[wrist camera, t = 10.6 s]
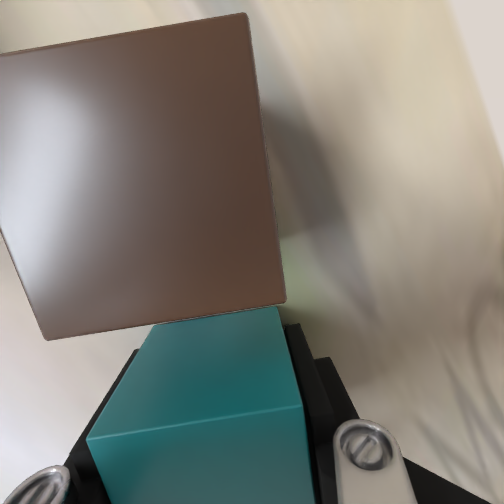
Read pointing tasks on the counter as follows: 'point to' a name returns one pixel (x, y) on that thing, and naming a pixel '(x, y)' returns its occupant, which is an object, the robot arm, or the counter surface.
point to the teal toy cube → (207, 418)
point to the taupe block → (138, 178)
